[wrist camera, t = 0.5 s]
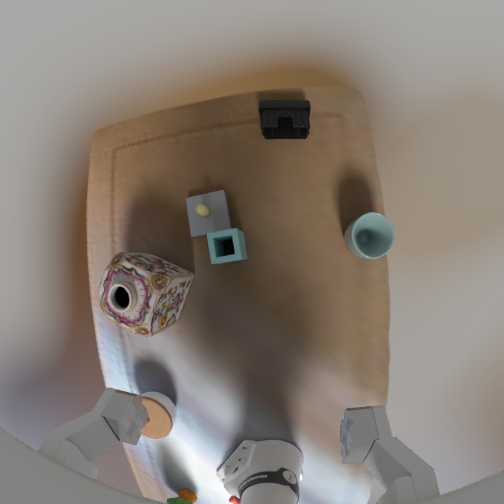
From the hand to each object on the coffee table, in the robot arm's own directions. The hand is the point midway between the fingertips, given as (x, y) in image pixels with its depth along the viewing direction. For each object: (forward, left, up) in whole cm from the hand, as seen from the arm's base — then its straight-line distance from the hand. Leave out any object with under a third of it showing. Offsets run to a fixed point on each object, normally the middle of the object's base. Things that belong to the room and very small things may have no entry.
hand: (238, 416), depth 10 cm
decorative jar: (-16, +18, -48) cm, 54 cm away
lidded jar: (-39, +1, -48) cm, 62 cm away
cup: (+18, -6, -48) cm, 52 cm away
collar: (0, +12, -48) cm, 49 cm away
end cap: (+27, +21, -48) cm, 59 cm away
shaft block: (+2, +20, -48) cm, 52 cm away
